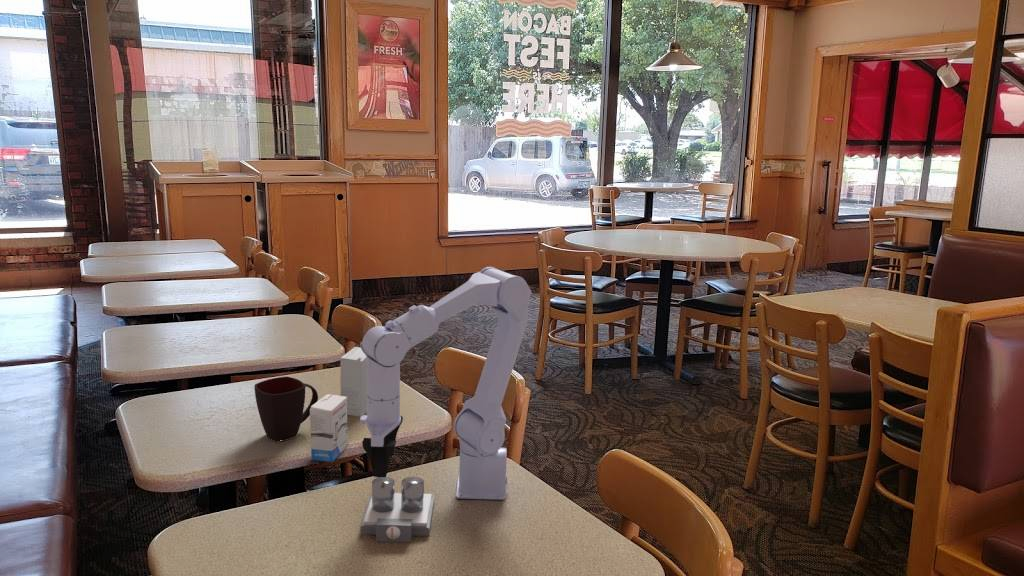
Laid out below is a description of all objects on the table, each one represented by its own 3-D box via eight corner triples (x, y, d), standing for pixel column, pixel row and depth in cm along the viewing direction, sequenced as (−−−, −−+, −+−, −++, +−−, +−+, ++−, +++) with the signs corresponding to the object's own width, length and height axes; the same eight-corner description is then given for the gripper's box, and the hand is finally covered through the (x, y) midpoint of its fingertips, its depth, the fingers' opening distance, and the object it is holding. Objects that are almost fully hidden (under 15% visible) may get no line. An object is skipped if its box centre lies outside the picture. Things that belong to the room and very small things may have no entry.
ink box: (331, 463, 153) (330, 410, 151) (309, 460, 154) (308, 408, 152) (348, 445, 162) (348, 395, 159) (327, 442, 163) (326, 392, 160)
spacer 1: (374, 500, 136) (374, 475, 134) (396, 501, 136) (396, 477, 134) (369, 512, 132) (369, 487, 130) (392, 513, 132) (392, 488, 130)
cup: (250, 434, 165) (247, 384, 162) (305, 417, 175) (304, 370, 172) (271, 449, 158) (269, 397, 155) (328, 431, 168) (327, 382, 165)
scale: (434, 503, 140) (434, 487, 139) (428, 543, 127) (428, 527, 126) (370, 501, 139) (370, 486, 139) (358, 541, 127) (358, 525, 126)
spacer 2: (399, 502, 135) (400, 477, 134) (421, 501, 136) (422, 475, 135) (402, 513, 131) (403, 487, 130) (424, 511, 132) (425, 485, 131)
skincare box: (354, 401, 185) (354, 345, 181) (377, 405, 184) (377, 348, 180) (339, 414, 177) (338, 356, 173) (362, 418, 176) (362, 359, 172)
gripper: (367, 379, 135) (367, 446, 139) (352, 410, 121) (353, 485, 125) (405, 380, 136) (405, 447, 139) (395, 412, 121) (395, 486, 125)
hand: (383, 465), depth 132 cm, fingers open, 7 cm apart
